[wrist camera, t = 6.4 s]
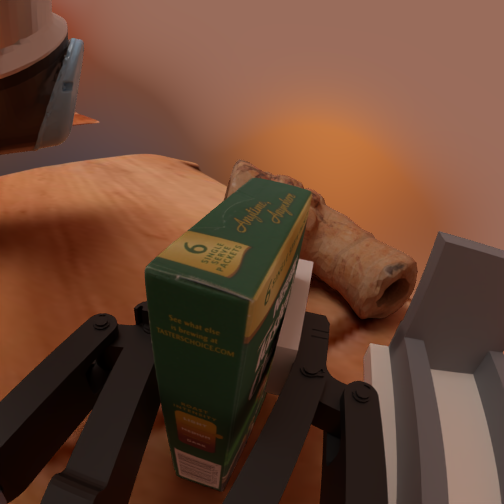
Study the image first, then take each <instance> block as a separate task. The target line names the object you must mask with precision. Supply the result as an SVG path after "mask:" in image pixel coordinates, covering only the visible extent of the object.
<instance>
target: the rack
mask: <svg viewBox="0 0 504 504" xmlns="http://www.w3.org/2000/svg"><path fill="white" fill-rule="evenodd" d="M503 351H504V251H503V250H500V249H497V248H494V247H491V246H487V245H484V244H481V243H478V242H474V241H471V240H468V239H464V238H461V237H457V236H454V235H451V234H447V233H443V232H440V231H439V232H438V235H437V238H436V240H435V243H434V246H433V249H432V251H431V254H430V257H429V259H428V262H427V265H426V267H425V270H424V272H423V275H422V277H421V280H420V283H419V285H418V287H417V289H416V292H415V294H414V296H413V299H412V301H411V303H410V306H409V308H408V310H407V312H406V314H405V317H404V319H403V321H401V322H400V324H399V326H398V328H397V330H396V333H395V335H394V337H393V339H392V341H391V343H390V345H389V347H388V346H383V345H377V344H372V343H370V345H369V347H368V349H367V351H366V353H365V355H364V382H366V383H368V384H370V385H371V386H373V387H374V388H375V390H376V391H377V393H378V396H379V403H380V411H381V419H382V428H383V438H384V448H385V459H386V472H387V488H388V504H504V354H503Z"/></svg>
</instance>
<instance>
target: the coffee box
mask: <svg viewBox="0 0 504 504" xmlns="http://www.w3.org/2000/svg"><path fill="white" fill-rule="evenodd" d="M311 199H312V192H311V191H309V190H306V189H303V188H300V187H296V186H293V185H289V184H285V183H280V182H276V181H272V180H267V179H261V178H251V179H250V180H249V181H248V182H246V183H245V184H244V185H242V186H241V187H240V188H239V189H238V190H237V191H236V192H234V193H233V194H231V195H230V196H229V197H228V198H227V199H225V200H224V201H223V202H222V203H221V204H219V205H218V206H217V207H216V208H215V209H213V210H212V211H211V212H210V213H209V214H207V215H206V216H205V217H204V218H203V219H201V220H200V221H199V222H198V223H197V224H195V225H194V226H193V227H192V228H190V229H189V230H188V231H187V232H185V233H184V234H183V235H182V236H181V237H179V238H178V239H177V240H176V241H174V242H173V243H172V244H170V245H169V246H168V247H167V248H166V249H165V250H164V251H163V252H161V253H160V254H159V255H158V256H157V257H156V258H155V259H154V260H152V261H151V262H150V263H149V264H148V265H147V266H146V268H145V286H146V295H147V306H148V316H149V325H150V333H151V341H152V349H153V356H154V364H155V369H156V377H157V382H158V388H159V394H160V400H161V405H162V411H163V416H164V422H165V426H166V432H167V437H168V442H169V446H170V451H171V455H172V460H173V466H174V469H175V471H176V475H177V476H178V477H180V478H183V479H186V480H189V481H192V482H195V483H197V484H200V485H203V486H206V487H210V488H212V489H215V490H218V491H221V492H222V491H223V490H224V488H225V486H226V484H227V482H228V480H229V478H230V476H231V474H232V472H233V470H234V468H235V466H236V464H237V462H238V460H239V458H240V455H241V453H242V451H243V449H244V447H245V444H246V443H247V439H248V437H249V435H250V433H251V431H252V428H253V426H254V423H255V421H256V418H257V416H258V414H259V412H260V409H261V406H262V403H263V401H264V399H265V396H266V394H267V392H265V390H266V386H267V382H268V378H269V374H270V370H271V366H272V362H273V358H274V354H275V350H276V346H277V342H278V338H279V335H280V331H281V327H282V324H283V320H284V316H285V312H286V308H287V305H288V301H289V297H290V294H291V290H292V287H293V283H294V278H295V274H296V269H297V265H298V260H299V256H300V251H301V247H302V242H303V237H304V233H305V228H306V224H307V219H308V215H309V209H310V204H311Z"/></svg>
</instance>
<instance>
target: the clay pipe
mask: <svg viewBox="0 0 504 504" xmlns="http://www.w3.org/2000/svg"><path fill="white" fill-rule="evenodd" d="M251 178H261V179H267V180H272V181H276V182H280V183H285V184H289V185H293V186H296V187H300V188H303V189H304V187H303V185H302V183H301V182H299V181H297V180H295V179H293V178H291V177H289V176H285V175H272V174H271V173H269V172H263V171H261V170H260V169H258V168H257V167H255V166H254V165H252V164H250V163H249V162H247V161H243V160H238V161H237V162H236V164H235V165H234V167H233V170H232V173H231V176H230V180H229V183H228V186H227V190H226V194H225V198H224V200H225V199H227V198H228V197H229V196H230V195H231V194H233V193H234V192H236V191H237V190H238V189H239V188H240V187H241V186H242V185H244V184H245V183H246V182H248V181H249V180H250V179H251ZM306 190H309V191H311V192H312V199H311V204H310V209H309V215H308V219H307V224H306V228H305V233H304V237H303V242H302V247H301V251H300V256H299V259H303V260H307V261H312V262H313V268H312V273H313V274H315V275H316V276H318V277H319V278H320V279H322V280H323V281H324V282H325V283H327V284H328V285H329V286H330V287H332V288H333V289H334V290H337V291H338V292H339V293H340V294H341V295H342V296H343V297H344V299H345V300H346V301H347V302H348V303H349V304H350V306H351V308H352V309H353V310H354V312H355V313H356V314H357V315H358V317H359V318H361V319H366V318H379V319H380V318H385V317H387V316H388V315H389V314H392V313H394V312H396V311H397V310H398V309H399V308H400V307H401V306H402V305H403V304H404V303H405V302H406V301H407V300H408V299H409V297H410V295H411V294H412V292H413V290H414V287H415V283H416V277H417V272H418V271H417V264H416V262H415V261H414V260H413V258H411V257H410V256H409V255H407V254H405V253H404V252H402V251H399V250H397V249H395V248H393V247H391V246H389V245H387V244H384V243H383V242H380V241H378V240H377V239H375V237H374V236H373V234H372V233H370V232H367V231H365V230H363V229H361V228H360V227H359V226H358V225H356V224H355V223H354V222H353V221H352V220H351V219H349V218H348V217H347V216H345V215H344V214H341V213H340V212H338V211H336V210H334V209H332V208H330V207H328V206H327V205H326V204H325V201H324V198H323V197H322V196H321V195H320V194H318V193H317V192H316V191H313V190H311V189H309V188H307V189H306ZM298 261H299V260H298Z"/></svg>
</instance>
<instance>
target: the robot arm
mask: <svg viewBox="0 0 504 504" xmlns="http://www.w3.org/2000/svg"><path fill="white" fill-rule="evenodd" d="M67 31H68V29H67V23H66V21H65V20H64V19H63V18H62V17H60V16H58V15H57V14H55V13H53V12H52V0H0V155H2V154H9V153H17V152H25V151H37V150H38V149H41V148H46V147H51V146H57V145H59V144H61V143H63V142H64V141H65V140H66V139H67V138H68V136H69V134H70V132H71V128H72V123H73V118H74V112H75V105H76V99H77V93H78V86H79V80H80V73H81V67H82V59H83V52H84V46H83V45H84V43H83V41H82V40H79V39H75V38H72V39H70V40H68V32H67ZM312 268H313V262H312V261H307V260H303V259H299V261H298V265H297V269H296V274H295V278H294V283H293V287H292V290H291V294H290V297H289V301H288V305H287V308H286V312H285V316H284V320H283V324H282V327H281V331H280V335H279V338H278V342H277V346H276V350H275V354H274V358H273V362H272V366H271V370H270V374H269V378H268V382H267V386H266V390H265V392H267V393H271V394H275V395H279V397H278V399H277V401H276V403H275V405H274V407H273V409H272V411H271V414H270V416H269V418H268V420H267V422H266V424H265V426H264V428H263V430H262V432H261V433H260V435H259V437H258V439H257V441H256V443H255V445H254V447H253V449H252V451H251V453H250V455H249V457H248V458H247V460H246V462H245V464H244V466H243V468H242V470H241V471H240V473H239V475H238V477H237V479H236V480H235V482H234V484H233V486H232V488H231V489H230V491H229V493H228V495H227V496H226V498H225V500H224V501H223V503H222V504H278V503H279V501H280V499H281V497H282V494H283V492H284V490H285V488H286V485H287V483H288V481H289V478H290V476H291V474H292V471H293V469H294V466H295V464H296V462H297V459H298V457H299V454H300V452H301V449H302V447H303V444H304V441H305V439H306V436H307V433H308V431H309V428H310V425H311V424H312V425H313V426H315V427H317V428H319V429H321V430H324V431H323V459H322V478H321V494H320V504H388V488H387V472H386V459H385V448H384V438H383V428H382V419H381V411H380V403H379V396H378V393H377V391H376V390H375V388H374V387H373V386H371V385H370V384H368V383H366V382H362V381H354V382H352V383H349V384H348V385H346V384H344V383H342V382H340V381H338V380H336V379H335V378H333V377H332V376H331V375H330V373H329V372H328V370H327V367H326V361H327V350H328V339H329V326H330V324H329V322H328V320H327V318H326V316H324V315H319V314H314V313H310V312H305V310H306V304H307V298H308V293H309V287H310V281H311V275H312ZM134 312H135V320H136V325H120V324H117V321H116V319H115V317H113V316H112V315H110V314H106V313H104V314H97V315H94V316H92V317H91V318H89V319H88V320H87V321H86V322H85V323H84V324H83V325H81V326H80V327H79V328H78V329H77V330H76V331H75V332H74V333H73V334H71V335H70V336H69V337H68V338H67V339H66V340H65V341H64V342H63V343H61V344H60V345H59V346H58V347H57V348H56V349H55V350H54V351H53V352H52V353H51V354H50V355H48V356H47V357H46V358H45V359H44V360H43V361H42V362H41V363H40V364H39V365H38V366H37V367H36V368H35V369H34V370H32V371H31V372H30V373H29V374H28V375H27V376H26V377H25V378H24V379H23V380H22V381H21V382H20V383H19V384H18V385H17V386H16V387H15V388H14V389H13V390H12V391H11V392H10V393H9V394H8V395H7V396H6V397H5V398H4V399H3V400H2V401H1V402H0V504H7V503H9V502H11V501H12V500H14V499H15V498H16V497H18V496H19V495H20V494H21V493H22V492H23V491H24V490H25V489H26V488H27V487H28V486H29V485H30V484H31V482H32V481H33V480H34V479H35V477H36V476H37V475H38V474H39V473H40V471H41V470H42V469H43V468H44V466H45V465H46V464H47V463H48V462H49V460H50V459H51V458H52V457H53V456H54V454H55V453H56V452H57V451H58V450H59V448H60V447H61V446H62V445H63V444H64V442H65V441H66V440H67V439H68V438H69V436H70V435H71V434H72V433H73V432H74V430H75V429H76V428H77V427H78V426H79V424H80V423H81V422H82V421H83V420H84V418H85V417H86V416H87V415H88V414H89V413H90V411H91V410H92V411H91V413H90V415H89V418H88V420H87V422H86V424H85V426H84V428H83V430H82V433H81V435H80V437H79V439H78V441H77V443H76V446H75V448H74V450H73V452H72V455H71V457H70V459H69V461H68V464H67V466H66V468H65V470H64V471H63V472H61V473H58V474H55V475H54V476H53V477H52V479H51V480H50V482H49V484H48V486H47V489H46V491H45V494H44V496H43V498H42V501H41V503H40V504H128V502H129V499H130V496H131V492H132V489H133V486H134V483H135V480H136V476H137V473H138V470H139V467H140V464H141V461H142V458H143V454H144V451H145V448H146V445H147V442H148V439H149V436H150V433H151V430H152V427H153V424H154V421H155V418H156V415H157V412H158V409H159V406H160V403H161V400H160V394H159V388H158V382H157V377H156V369H155V364H154V356H153V349H152V341H151V333H150V325H149V316H148V306H147V301H146V302H142V303H140V304H138V305H137V306H136V307H135V308H134Z"/></svg>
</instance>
